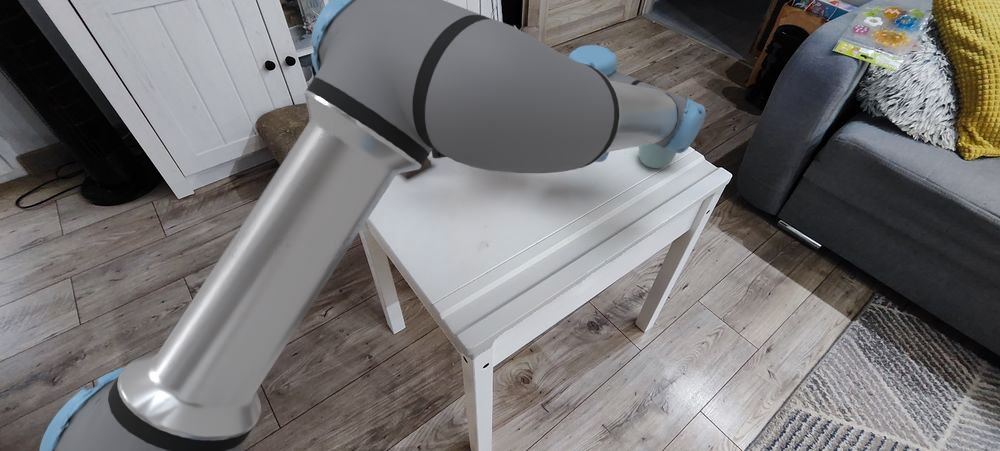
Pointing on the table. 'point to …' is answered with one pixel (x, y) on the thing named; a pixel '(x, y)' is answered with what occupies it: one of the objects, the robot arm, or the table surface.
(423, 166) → the peg stand
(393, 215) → the table surface
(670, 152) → the cup
